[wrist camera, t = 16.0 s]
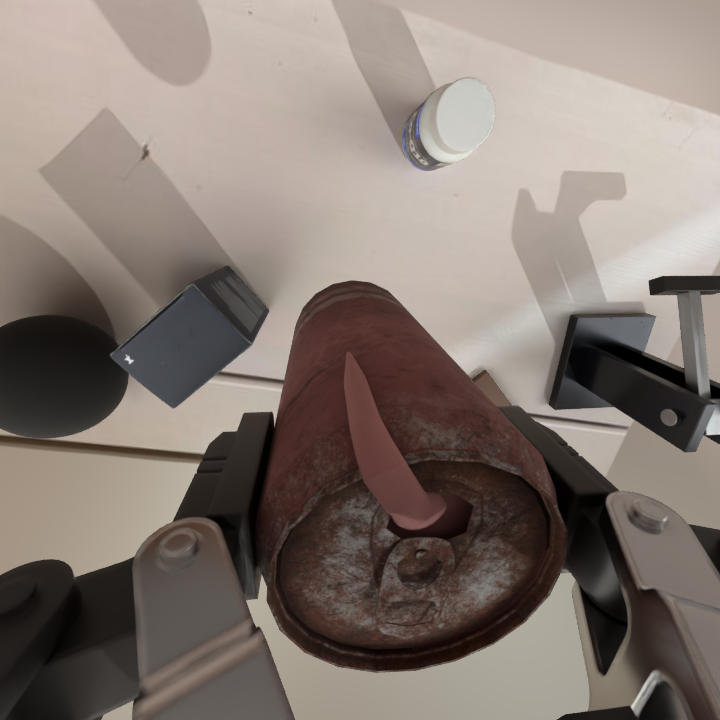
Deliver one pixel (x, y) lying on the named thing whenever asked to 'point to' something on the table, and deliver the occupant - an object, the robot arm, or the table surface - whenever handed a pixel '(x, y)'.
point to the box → (193, 336)
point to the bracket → (629, 378)
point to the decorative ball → (57, 376)
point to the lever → (692, 332)
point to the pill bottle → (449, 124)
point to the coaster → (491, 389)
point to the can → (397, 496)
